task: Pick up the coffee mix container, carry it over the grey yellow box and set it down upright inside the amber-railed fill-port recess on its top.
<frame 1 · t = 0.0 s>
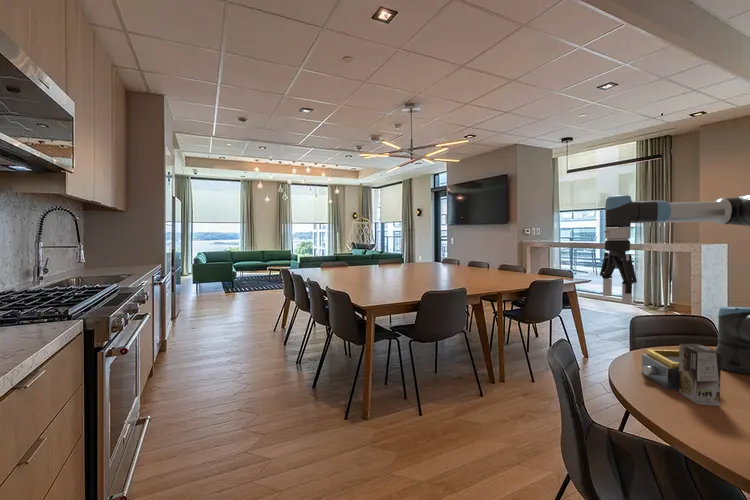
hand: (616, 299, 130), 28 cm above the table, fingers open, 13 cm apart
grey yellow box: (676, 381, 127), on the table
coffee box: (698, 399, 113), on the table
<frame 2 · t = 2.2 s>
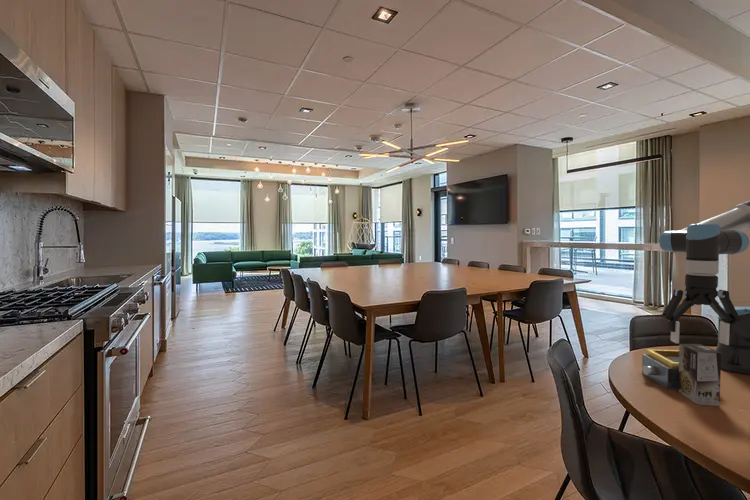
hand: (699, 343, 113), 18 cm above the table, fingers open, 13 cm apart
nothing on the table moved.
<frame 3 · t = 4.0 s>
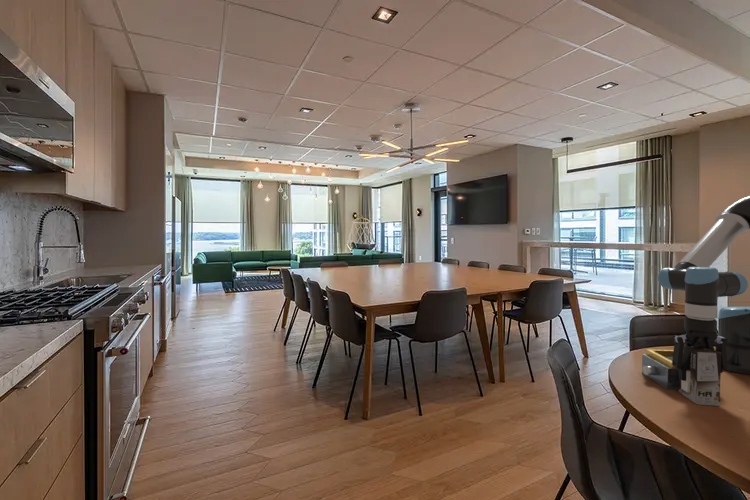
hand: (698, 390, 113), 3 cm above the table, fingers closed on coffee box, 7 cm apart
coffee box: (698, 399, 113), on the table, touching gripper
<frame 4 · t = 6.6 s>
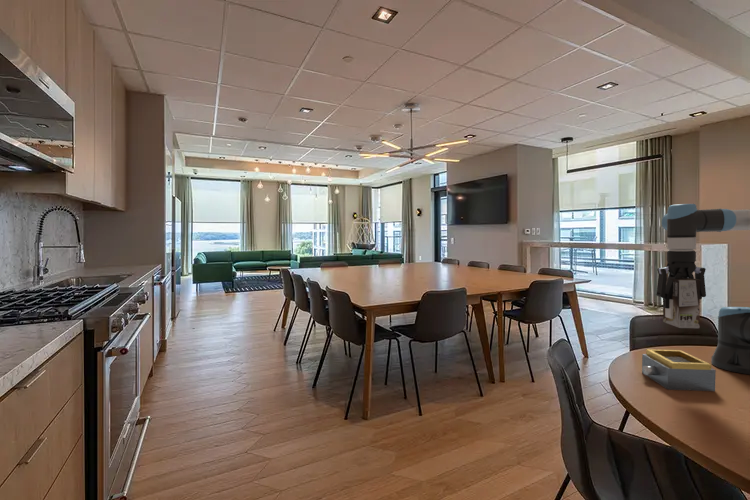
hand: (680, 317, 124), 23 cm above the table, fingers closed on coffee box, 7 cm apart
coffee box: (680, 325, 124), point 20 cm above the table, touching gripper
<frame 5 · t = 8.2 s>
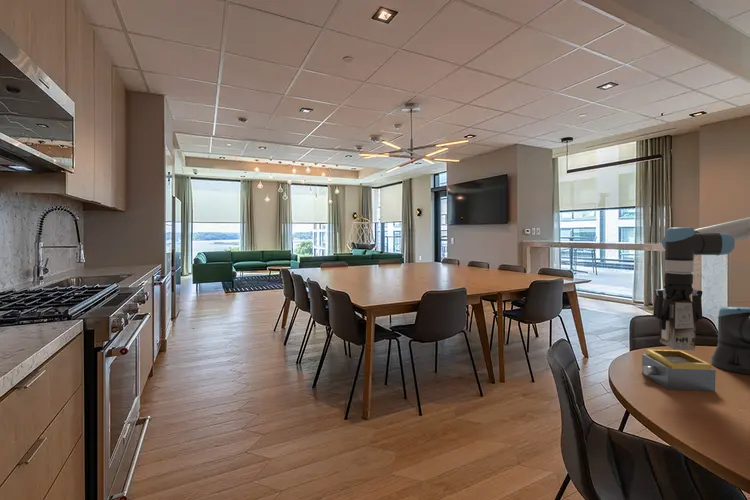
hand: (676, 339, 126), 15 cm above the table, fingers closed on coffee box, 7 cm apart
coffee box: (676, 346, 126), point 12 cm above the table, touching gripper
when the fingers open (11 cm above the table, at t = 9.3 s): coffee box drops 1 cm, resting on grey yellow box.
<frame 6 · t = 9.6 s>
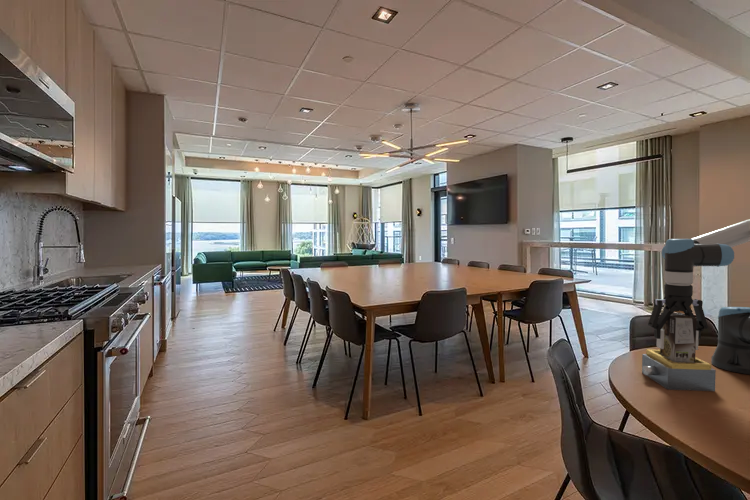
hand: (676, 348, 126), 12 cm above the table, fingers open, 10 cm apart
coffee box: (676, 361, 126), point 7 cm above the table, touching grey yellow box
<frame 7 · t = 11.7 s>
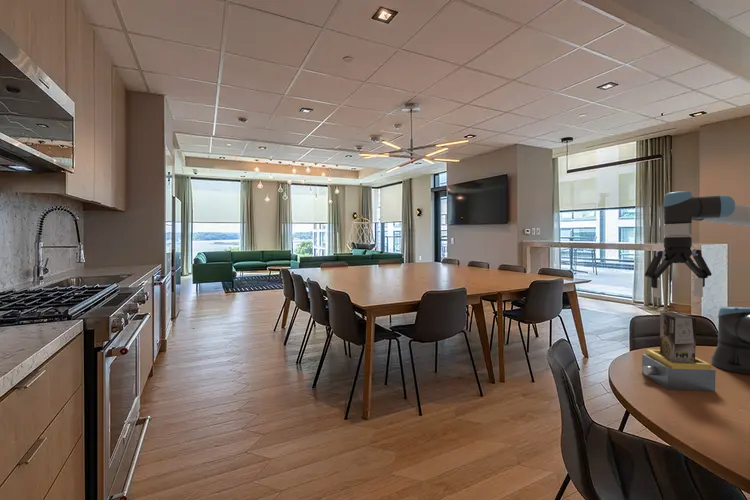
hand: (677, 296, 129), 29 cm above the table, fingers open, 13 cm apart
nothing on the table moved.
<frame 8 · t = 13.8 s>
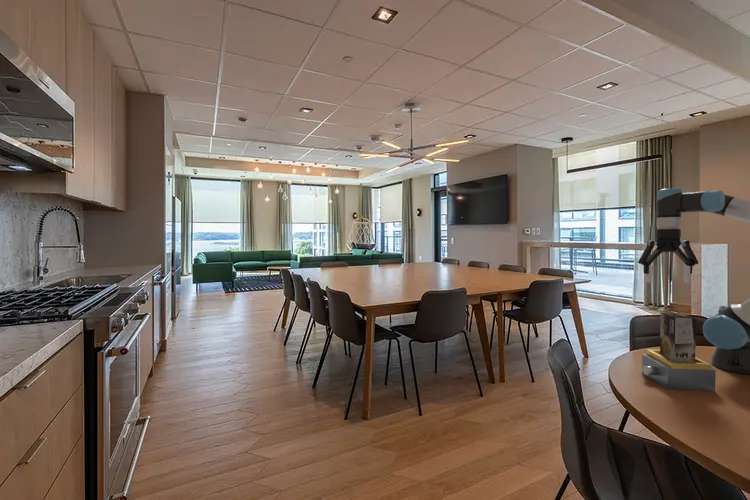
hand: (667, 282, 145), 32 cm above the table, fingers open, 13 cm apart
nothing on the table moved.
at the end: coffee box 0.1 cm off-centre on the grey yellow box, point 7.0 cm above the grey yellow box's base; coffee box tilted 0°; the gripper is holding nothing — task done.
